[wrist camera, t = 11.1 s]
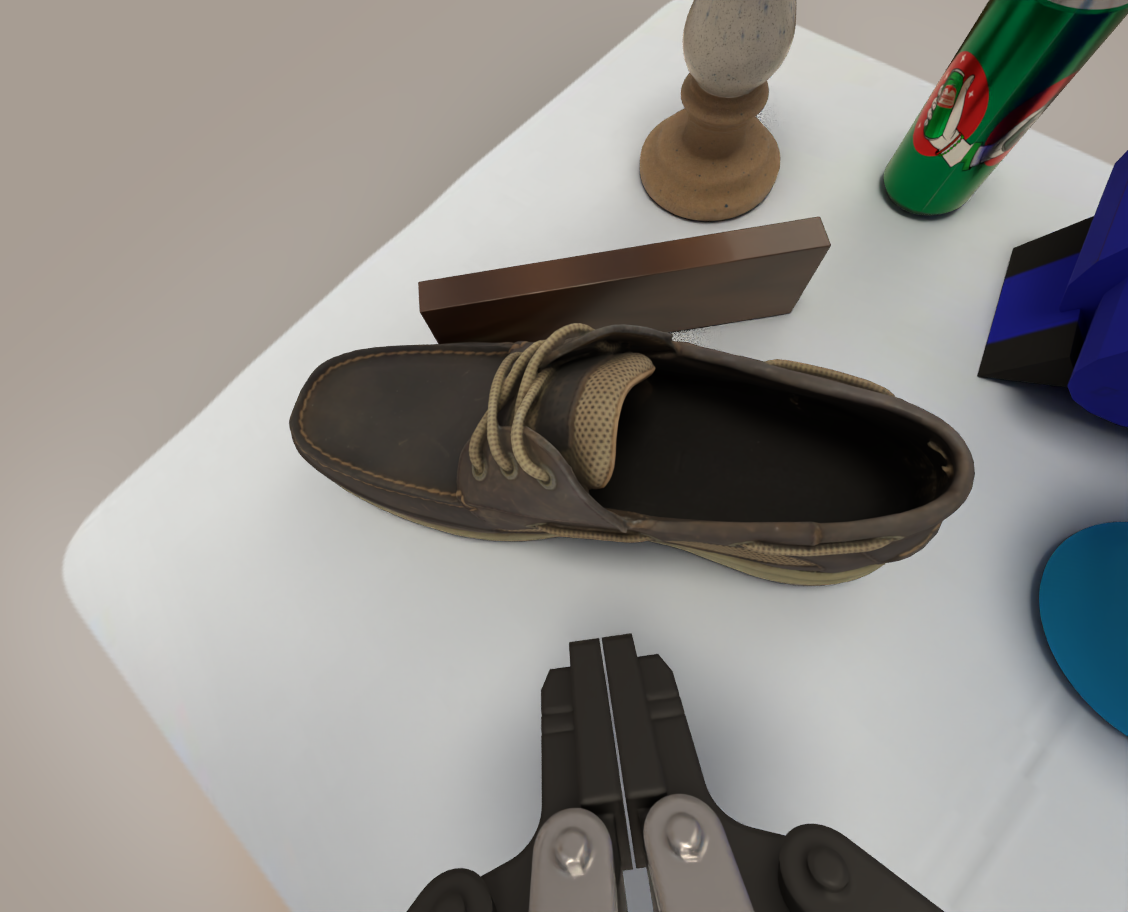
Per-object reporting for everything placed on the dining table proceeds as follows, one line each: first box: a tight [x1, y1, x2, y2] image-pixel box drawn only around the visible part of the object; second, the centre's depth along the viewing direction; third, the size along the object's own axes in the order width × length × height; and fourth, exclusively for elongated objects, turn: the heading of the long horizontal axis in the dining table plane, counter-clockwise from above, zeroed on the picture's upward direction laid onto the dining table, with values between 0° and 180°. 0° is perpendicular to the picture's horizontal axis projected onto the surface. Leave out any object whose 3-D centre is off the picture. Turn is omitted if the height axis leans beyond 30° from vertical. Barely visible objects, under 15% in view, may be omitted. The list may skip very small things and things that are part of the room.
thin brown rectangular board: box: [418, 217, 831, 344], centre depth 27 cm, size 20×2×6 cm, turn 98°
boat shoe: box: [289, 323, 975, 586], centre depth 22 cm, size 11×29×11 cm, turn 82°
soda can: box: [884, 0, 1128, 216], centre depth 25 cm, size 5×5×12 cm
